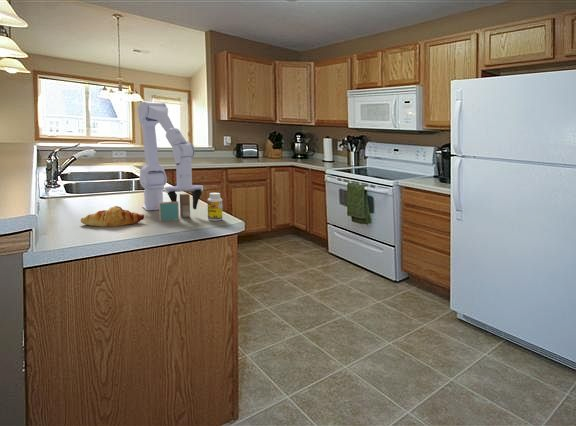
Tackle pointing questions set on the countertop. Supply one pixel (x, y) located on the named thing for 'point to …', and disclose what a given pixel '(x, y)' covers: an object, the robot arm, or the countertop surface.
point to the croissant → (112, 217)
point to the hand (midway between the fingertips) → (185, 209)
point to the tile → (168, 211)
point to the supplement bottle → (215, 207)
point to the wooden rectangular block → (184, 205)
